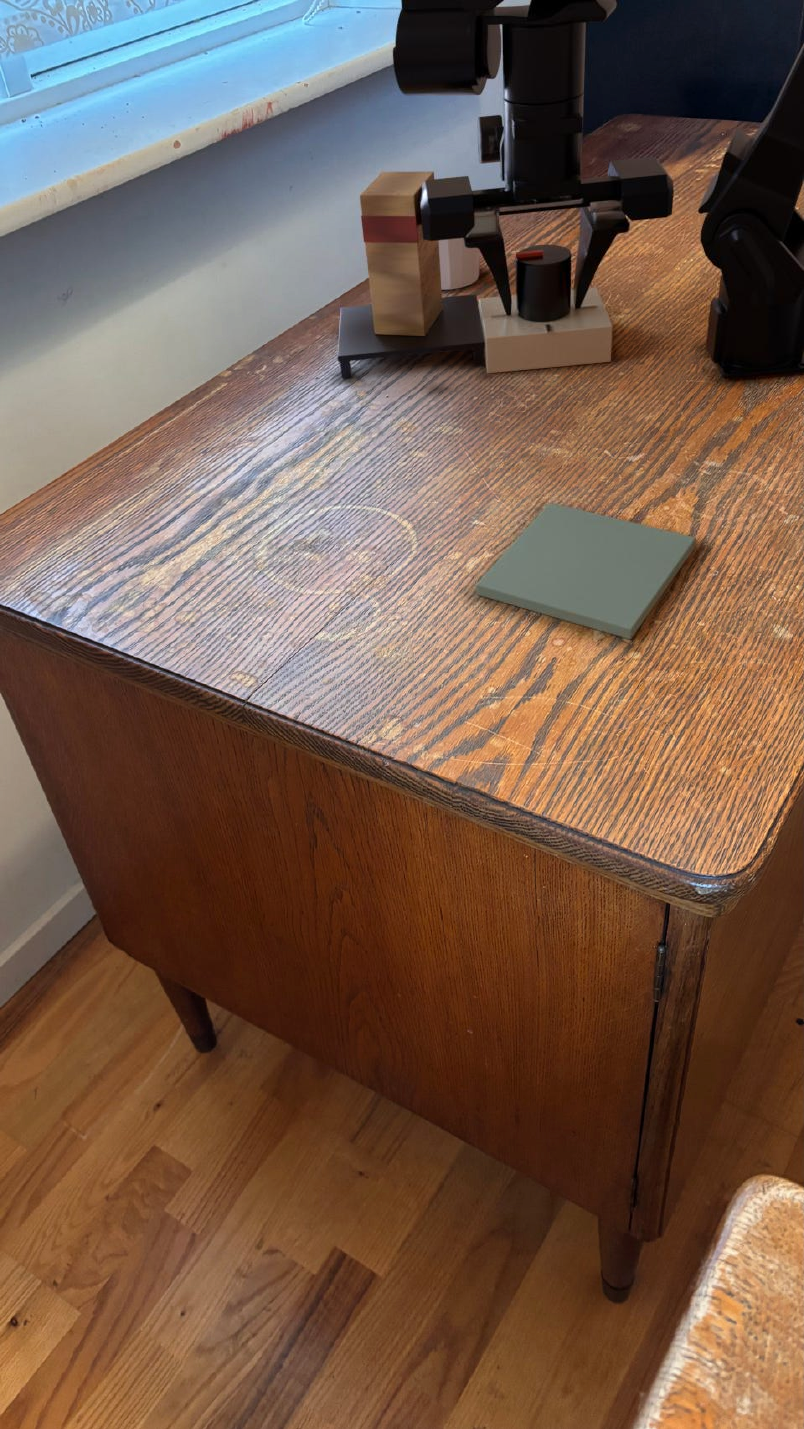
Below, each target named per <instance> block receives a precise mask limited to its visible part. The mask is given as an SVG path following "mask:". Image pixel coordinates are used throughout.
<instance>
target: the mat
mask: <svg viewBox="0 0 804 1429" xmlns="http://www.w3.org/2000/svg"><path fill="white" fill-rule="evenodd" d="M696 541H697V538H696V537H695V536H692V535H688V534H683V533H679V532H674V531H671V530H666V529H663V528H657V527H654V526H650V525H649V526H648V525H645V524H641V523H638V522H633V521H629V520H624V519H621V518H616V517H612V516H609V515H604V514H599V513H596V512H591V511H587V510H583V509H579V508H574V507H571V506H567V505H562V504H558V503H553V502H549V503H548V504H547V505H546V506H545V507H544V508H543V509H542V510H541V512H540V513H539V514H537V516H536V517H535V518H534V519H533V521H531V523H530V524H529V525H528V526H527V527H526V528H525V529H524V530H523V532H522V533H521V534H519V536H518V537H517V538H516V539H515V541H514V542H513V543H512V544H510V546H509V547H508V549H506V551H505V552H504V553H503V554H502V555H501V556H500V557H499V558H498V559H497V561H496V562H495V563H494V564H493V565H492V566H491V567H490V569H489V570H488V571H487V572H486V573H484V575H483V577H481V578H480V579H479V581H478V582H477V583H476V584H475V586H476V588H475V590H476V595H477V596H481V597H484V598H486V599H491V600H494V601H498V602H501V603H505V604H507V605H512V606H513V607H518V608H522V609H525V610H529V611H532V612H535V613H538V614H541V615H546V616H549V617H551V618H555V619H559V620H562V621H566V622H568V623H572V624H576V625H578V626H579V625H580V626H582V627H585V628H586V627H587V628H589V629H594V630H597V631H599V632H603V633H607V634H610V635H613V636H618V637H619V638H620V637H621V638H623V639H627V640H632V639H633V637H634V635H635V634H636V633H637V632H638V630H639V629H640V627H641V626H642V624H643V623H644V621H645V620H646V618H647V617H648V615H649V614H650V613H651V611H652V610H653V609H654V607H655V605H656V604H657V603H658V601H659V600H660V598H661V597H662V595H663V594H664V593H665V591H666V590H667V588H668V587H669V585H670V584H671V582H672V581H673V579H674V578H675V577H676V575H677V574H678V573H679V571H680V569H681V568H682V567H683V565H684V564H685V562H686V561H687V560H688V558H689V557H690V555H691V554H692V552H693V551H694V549H695V548H696V543H697V542H696Z"/></svg>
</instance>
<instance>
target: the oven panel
mask: <svg viewBox="0 0 804 1429" xmlns="http://www.w3.org/2000/svg"><path fill="white" fill-rule="evenodd" d="M511 298H512V308H511V315H506V312H505V309H504V307H503V304H502V301H501V298H500V296H492V297H483V298H478V306H479V312H480V318H481V324H482V329H483V335H484V341H485V348H484V364H485V368H486V373H487V374H496V373H497V374H498V373H506V372H519V371H527V370H529V371H530V370H539V369H547V368H548V369H549V368H559V367H560V368H561V367H569V366H570V367H571V366H580V365H590V364H591V365H592V364H601V363H603V364H604V363H610V362H612V350H613V349H612V348H613V328H614V326H613V324H612V322H611V319H610V317H609V314H608V311H607V309H606V306H605V304H604V301H603V299H602V296H601V294H600V291H599V289H598V287H597V286H595V287H589V289H588V291H587V294H586V296H585V298H584V300H583V303H582V305H581V307H580V308H578V309H575V307H574V294H573V289H571V309H570V312H569V313H568V314H567V315H566V316H564V317H562V318H560V319H557V320H553V321H546V322H534V321H528V320H525V319H522V318H520V317H519V316H518V315H517V313H516V294H511Z"/></svg>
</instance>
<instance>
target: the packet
mask: <svg viewBox="0 0 804 1429" xmlns="http://www.w3.org/2000/svg"><path fill="white" fill-rule="evenodd" d="M433 179H435V172H434V171H381V172H380V173H379V174H378V175H377V176H376V177H375V178H374V179H373V180H372V181H371V183H370V184H369V185H368V186H367V187H366V188H365V189H364V190H363V191H362V192H361V193H360V194H359V202H360V211H361V216H360V220H361V229H362V238H363V242H364V248H365V257H366V264H367V275H368V284H369V292H370V301H371V305H372V310H373V319H374V328H375V334H381V335H406V336H425V335H426V334H427V332H428V331H429V329H430V328H431V326H432V324H433V323H434V321H435V320H436V318H437V317H438V315H439V314H440V312H441V311H442V309H443V304H442V298H443V293H442V289H441V274H440V258H439V243H438V241H428V240H424V239H423V234H422V226H421V213H420V199H419V193H420V190H421V187H422V184H423V183H424V181H425V180H433Z"/></svg>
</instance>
